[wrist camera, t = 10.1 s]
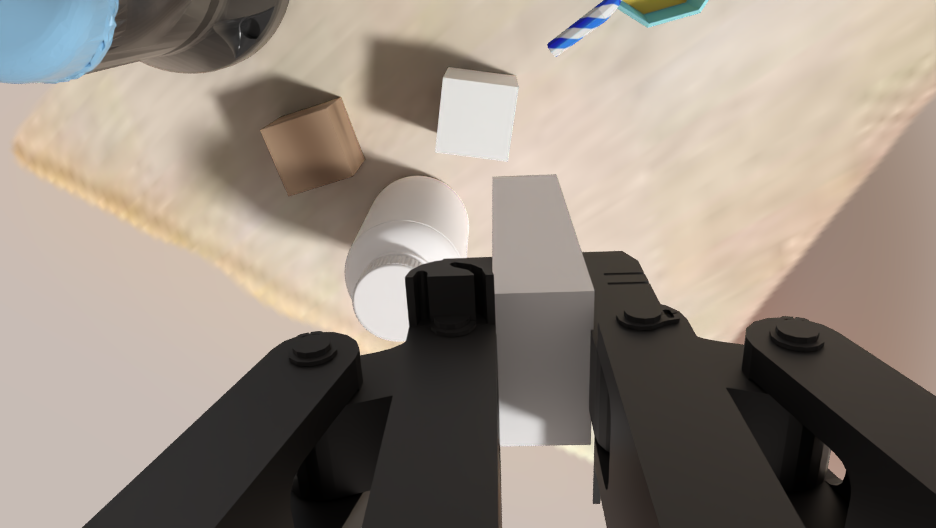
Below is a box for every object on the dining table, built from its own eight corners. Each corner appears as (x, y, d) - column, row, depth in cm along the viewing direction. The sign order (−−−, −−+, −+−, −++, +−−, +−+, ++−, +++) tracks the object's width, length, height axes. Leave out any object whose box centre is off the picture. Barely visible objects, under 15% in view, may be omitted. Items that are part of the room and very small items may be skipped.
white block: (441, 134, 52) (435, 152, 47) (448, 67, 50) (443, 77, 45) (506, 142, 52) (507, 161, 47) (516, 75, 51) (518, 87, 45)
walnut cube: (306, 177, 54) (288, 196, 49) (280, 116, 52) (259, 130, 48) (365, 159, 53) (352, 176, 49) (341, 96, 52) (326, 108, 47)
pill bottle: (386, 276, 57) (352, 371, 43) (358, 185, 54) (312, 255, 40) (479, 257, 56) (475, 348, 42) (456, 163, 53) (443, 227, 39)
